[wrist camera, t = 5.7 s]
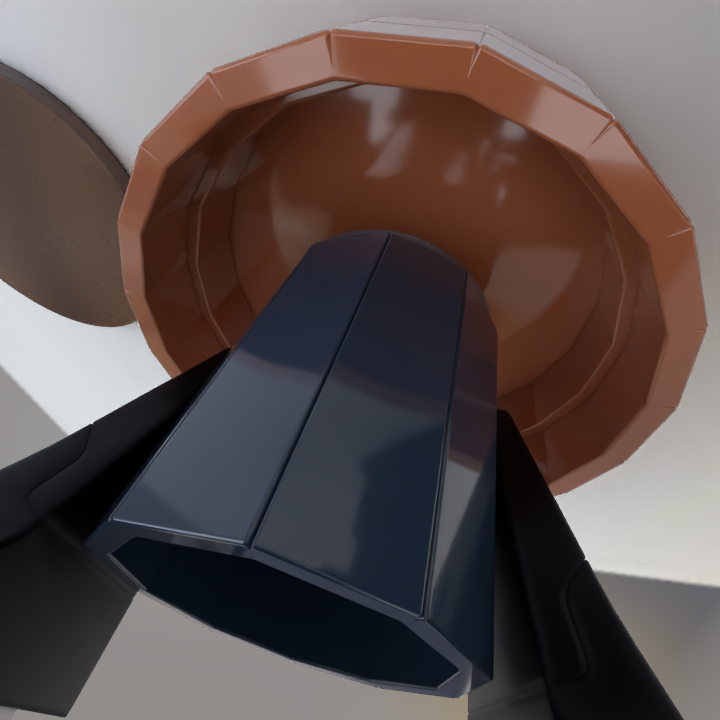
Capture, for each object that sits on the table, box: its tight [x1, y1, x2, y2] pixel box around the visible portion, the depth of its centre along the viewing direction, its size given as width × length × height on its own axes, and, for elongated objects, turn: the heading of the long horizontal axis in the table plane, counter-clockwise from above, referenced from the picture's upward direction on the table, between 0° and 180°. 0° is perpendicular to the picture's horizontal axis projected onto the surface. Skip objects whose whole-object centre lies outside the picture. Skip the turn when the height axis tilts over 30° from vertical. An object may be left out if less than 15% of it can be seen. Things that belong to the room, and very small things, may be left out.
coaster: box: [0, 63, 137, 327], centre depth 15 cm, size 10×10×1 cm
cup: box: [84, 229, 498, 698], centre depth 9 cm, size 6×6×8 cm
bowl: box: [117, 16, 708, 496], centre depth 11 cm, size 13×13×4 cm
